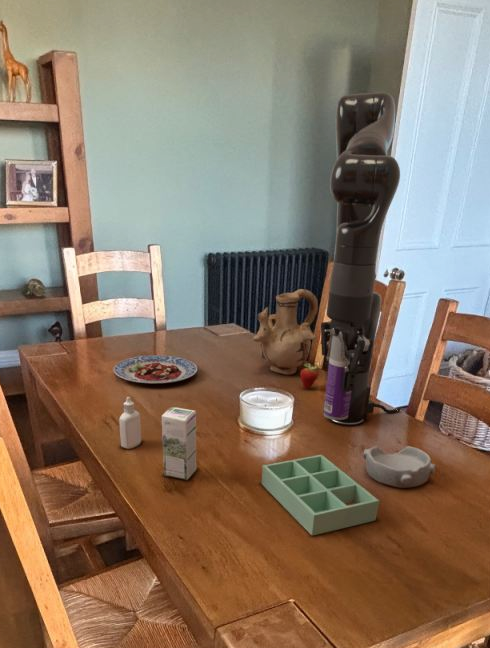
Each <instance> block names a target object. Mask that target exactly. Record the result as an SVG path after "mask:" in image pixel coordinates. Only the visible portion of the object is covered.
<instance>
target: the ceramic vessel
mask: <svg viewBox="0 0 490 648" xmlns="http://www.w3.org/2000/svg"><path fill="white" fill-rule="evenodd" d="M300 299H306V300H307V301H308V303H309V311H308V313H307V315H306V317H305V319H304V320H303V322H301V323H300V324H298V321H297V307H298V304H299V301H300ZM275 302H276V313H274V314H269V306H266V307H265V308H264V310H263V311H261V312H259V313H258V314H257V320H258V321H259V329H258V331H257V333H256V334H255V336H253V337H252V341H253V342H257V343H259V354H260V357H261V358H262V360H263V361H264V362H265V363H267V364H269V365H270V367H269V369H270V371H272V372H274V373H277V374H282V375H284V376H285V375H287V376H289V375H293V374H295V373H297V368H298V367H301V366H302V365H304V364H305V363H306V361H307V360H308V358H309V354H310V350H311V345H312V340H316V339H317V336H316V335H315V334H314V332H313V331H312V329H311V327H310V326H311V325H312V323H313V322H314V320H315V318H316V316H317V314H318V310H319V302H318V299H317V297H316V295H315V294H314V293H313V292H311V291H310V290H308V289H303V288H299V289H297V290H295V291H293V292H284V293H280V294H277V295H276V296H275Z"/></svg>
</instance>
